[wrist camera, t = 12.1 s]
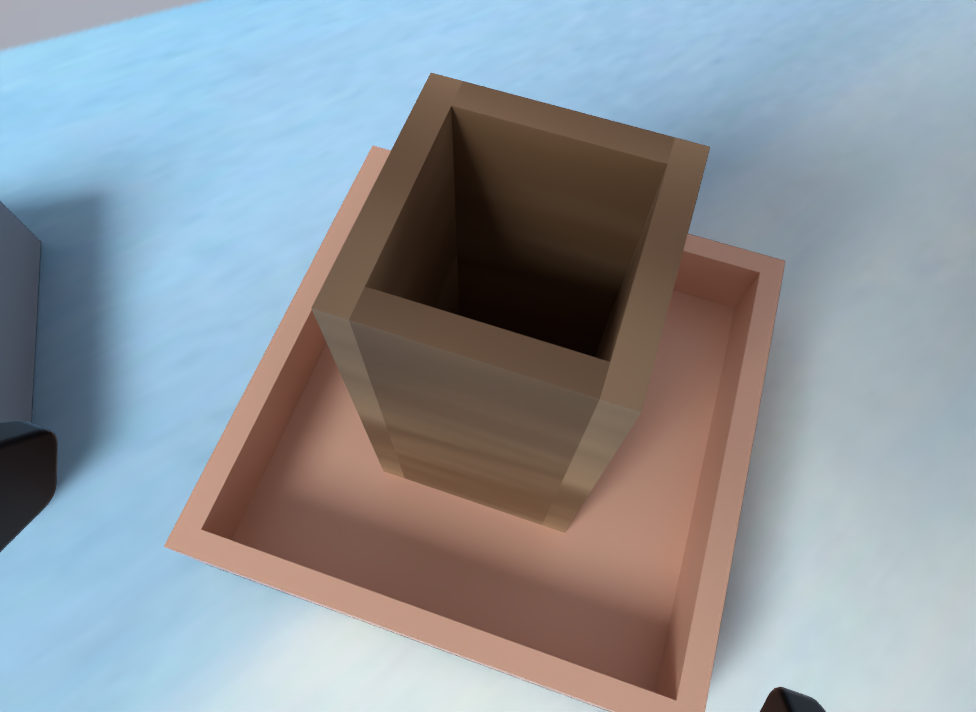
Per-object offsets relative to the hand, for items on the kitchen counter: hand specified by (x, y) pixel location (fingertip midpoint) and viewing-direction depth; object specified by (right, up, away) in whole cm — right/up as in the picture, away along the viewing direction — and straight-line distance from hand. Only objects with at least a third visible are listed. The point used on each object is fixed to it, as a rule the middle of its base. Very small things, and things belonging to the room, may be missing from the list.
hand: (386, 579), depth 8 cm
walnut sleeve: (+2, +1, +11) cm, 11 cm away
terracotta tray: (+2, +1, +11) cm, 12 cm away
